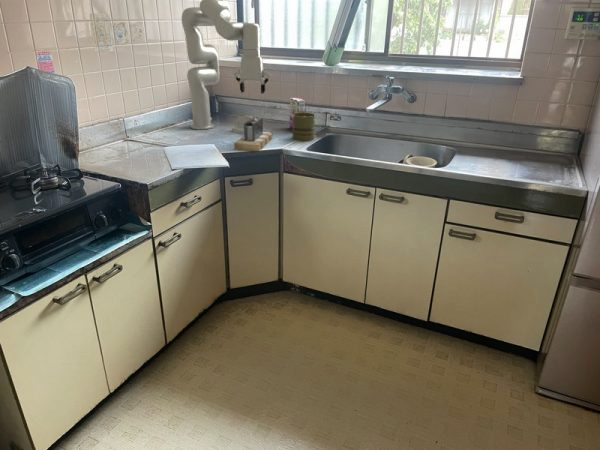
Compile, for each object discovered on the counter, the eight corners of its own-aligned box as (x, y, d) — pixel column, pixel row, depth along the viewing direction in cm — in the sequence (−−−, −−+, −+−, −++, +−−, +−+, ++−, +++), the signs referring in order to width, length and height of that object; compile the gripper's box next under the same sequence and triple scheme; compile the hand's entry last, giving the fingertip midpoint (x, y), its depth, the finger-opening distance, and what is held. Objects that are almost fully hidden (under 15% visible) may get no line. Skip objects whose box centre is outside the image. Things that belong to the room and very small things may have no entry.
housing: (244, 140, 210) (243, 123, 207) (253, 133, 222) (252, 117, 219) (254, 140, 209) (254, 123, 206) (262, 134, 222) (262, 117, 218)
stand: (250, 137, 229) (249, 130, 227) (272, 138, 227) (272, 132, 225) (234, 149, 207) (234, 142, 206) (259, 151, 205) (259, 144, 204)
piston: (291, 116, 219) (293, 112, 229) (291, 140, 224) (293, 135, 234) (314, 117, 218) (315, 112, 228) (313, 141, 223) (315, 136, 233)
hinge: (231, 131, 240) (234, 112, 238) (237, 132, 243) (240, 114, 242) (253, 136, 230) (257, 117, 229) (259, 137, 234) (263, 118, 233)
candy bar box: (305, 131, 242) (306, 100, 235) (297, 132, 240) (297, 101, 233) (297, 127, 251) (297, 97, 244) (289, 127, 249) (289, 97, 242)
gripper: (230, 53, 198) (232, 93, 205) (268, 54, 195) (268, 94, 202) (236, 52, 204) (237, 90, 212) (272, 53, 201) (272, 92, 209)
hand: (252, 92), depth 207 cm, fingers open, 9 cm apart
